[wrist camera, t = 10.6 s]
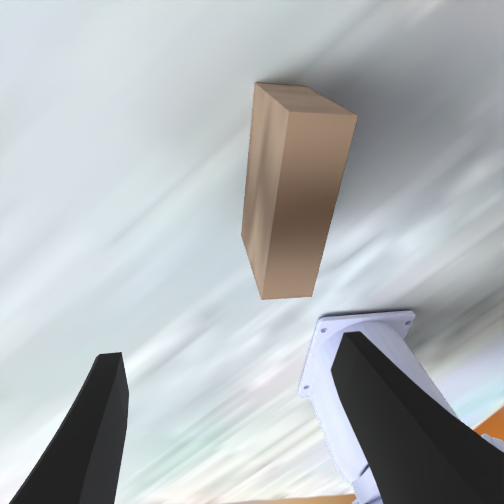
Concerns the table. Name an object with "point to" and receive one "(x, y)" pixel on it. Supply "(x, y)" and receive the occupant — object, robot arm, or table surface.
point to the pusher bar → (292, 185)
